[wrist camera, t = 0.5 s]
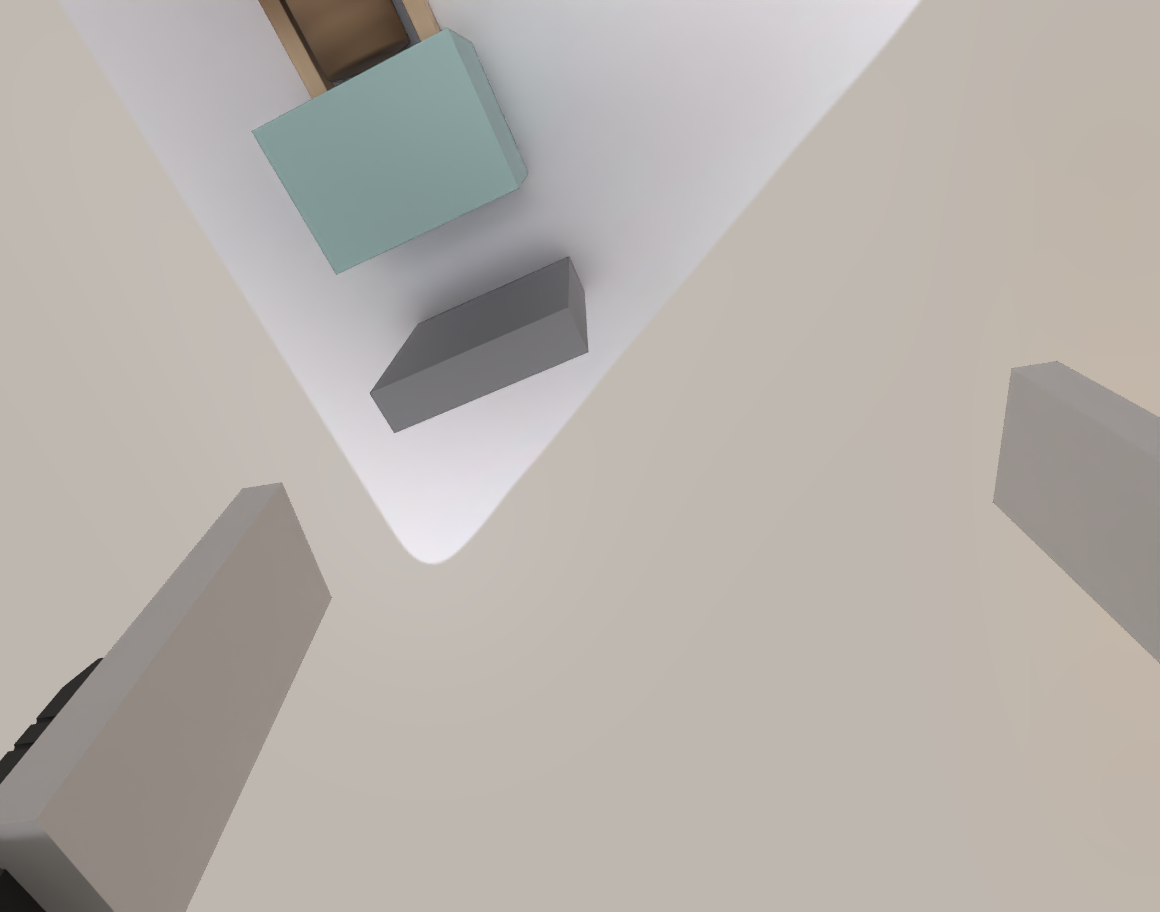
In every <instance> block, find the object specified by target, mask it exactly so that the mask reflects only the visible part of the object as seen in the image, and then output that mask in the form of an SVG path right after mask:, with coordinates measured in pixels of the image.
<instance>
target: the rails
mask: <svg viewBox="0 0 1160 912" xmlns="http://www.w3.org/2000/svg"><path fill="white" fill-rule="evenodd" d="M259 2H260V4H261V6H262V8H263V9H264V11H265V13H266V15H267V17H268V19H269V20H270V22H271V24H272V26H273V28H274V30H275V31H276V33H277V35H278V37H279V39H280V41H281V42H282V44H283V46H284V48H285V50H286V52H287V53H288V55H289V57H290V59H291V61H292V63H293V65H294V66H295V68H296V70H297V72H298V74H299V76H300V77H301V79H302V81H303V83H304V85H305V87H306V88H307V90H308V92H309V94H310V96H311V98H312V99H314V98H315V97H317V96H319V95H321V94H323V93H325V92H327V91H329V90H331V89H332V88H334V87H335V86H334V84H333V82H332V81H328V80H327V78H326V76H325V74H324V72H323V70H322V69H321V67H320V65H319V63H318V61H317V59H316V57H315V55H314V53H313V52H312V50H311V48H310V46H309V44H308V42H307V40H306V38H305V36H304V35H303V33H302V31H301V29H300V27H299V25H298V23H297V21H296V19H295V18H294V16H293V14H292V12H291V10H290V8H289V6H288V4H287V2H286V1H285V0H259ZM402 2H403V4H404V6H405V8H406V10H407V12H408V15H409V17H410V19H411V21H412V23H413V25H414V27H415V30H416V32H417V34H418V36H419V38H420V40H421V41H423V40H425V39H427V38H429V37H431V36H433V35H435V34H437V33H438V32H440V28H439V26H438V24H437V22H436V20H435V17H434V15H433V13H432V11H431V8H430V6H429V4H428V2H427V0H402Z"/></svg>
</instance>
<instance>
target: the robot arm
mask: <svg viewBox="0 0 1160 912" xmlns="http://www.w3.org/2000/svg"><path fill="white" fill-rule="evenodd" d="M993 503H994V504H995V505H996V506H997V507H999V508H1000V509H1001V510H1002V511H1003V512H1004V513H1005V514H1006V515H1007V516H1008V517H1009V518H1010V519H1011V520H1012V521H1013V522H1014V523H1015V524H1016V525H1017V526H1018V527H1019V528H1020V529H1021V530H1022V531H1023V532H1024V533H1026V535H1027V536H1029V537H1030V538H1031V539H1032V540H1033V541H1034V542H1035V543H1036V544H1037V545H1038V546H1039V547H1040V548H1041V549H1042V550H1043V551H1044V552H1045V553H1046V554H1047V555H1048V556H1049V557H1050V558H1051V559H1052V560H1053V561H1055V562H1056V564H1058V566H1060V567H1061V568H1062V569H1063V570H1064V571H1065V572H1066V573H1067V574H1068V575H1069V576H1070V577H1071V578H1072V579H1073V580H1074V581H1075V582H1076V583H1077V584H1078V585H1079V586H1080V587H1081V588H1082V589H1083V590H1084V591H1085V592H1086V593H1087V594H1089V595H1090V596H1091V597H1092V598H1093V599H1094V600H1095V601H1096V602H1097V603H1098V604H1099V605H1100V606H1101V607H1102V608H1103V609H1104V610H1105V611H1106V612H1107V613H1108V614H1109V615H1110V616H1111V617H1112V618H1113V619H1114V620H1115V621H1116V622H1117V623H1119V624H1120V625H1121V626H1122V627H1123V628H1124V629H1125V630H1126V631H1127V632H1128V633H1129V634H1130V635H1131V636H1132V637H1133V638H1134V639H1135V640H1136V641H1137V642H1138V643H1139V644H1140V645H1141V646H1142V647H1143V648H1144V649H1145V650H1147V651H1148V652H1149V653H1150V654H1151V655H1152V656H1153V657H1154V658H1155V659H1156V660H1157V661H1158V662H1159V663H1160V417H1158V416H1156V415H1154V414H1152V413H1151V412H1149V411H1147V410H1145V409H1144V408H1142V407H1140V406H1138V405H1136V404H1134V403H1133V402H1131V401H1129V400H1127V399H1125V398H1124V397H1122V396H1120V395H1118V394H1116V393H1114V392H1113V391H1111V390H1109V389H1107V388H1105V387H1104V386H1102V385H1100V384H1098V383H1096V382H1095V381H1093V380H1091V379H1089V378H1087V377H1085V376H1084V375H1082V374H1080V373H1078V372H1076V371H1075V370H1073V369H1070V368H1069V367H1067V366H1065V365H1064V364H1062V363H1060V362H1058V361H1054V362H1048V363H1042V364H1035V365H1029V366H1023V367H1017V368H1012V369H1011V377H1010V384H1009V391H1008V398H1007V405H1006V412H1005V419H1004V427H1003V434H1002V441H1001V448H1000V455H999V463H998V470H997V477H996V485H995V492H994V499H993ZM331 598H332V597H331V595H330V593H329V590H328V588H327V585H326V583H325V581H324V579H323V576H322V574H321V572H320V569H319V567H318V565H317V562H316V560H315V558H314V555H313V553H312V551H311V548H310V546H309V544H308V541H307V539H306V537H305V535H304V532H303V530H302V528H301V525H300V523H299V521H298V518H297V516H296V514H295V511H294V509H293V507H292V504H291V502H290V500H289V497H288V495H287V493H286V490H285V488H284V486H283V484H282V483H275V484H269V485H262V486H256V487H250V488H244V489H242V490H241V491H240V492H239V494H238V495H237V496H236V497H235V498H234V500H233V501H232V502H231V503H230V504H229V506H228V507H227V508H226V509H225V511H224V512H223V513H222V514H221V516H220V517H219V518H218V519H217V520H216V522H215V523H214V524H213V525H212V527H211V528H210V529H209V530H208V531H207V533H206V534H205V535H204V536H203V537H202V539H201V540H200V541H199V542H198V543H197V545H196V546H195V547H194V549H193V550H192V551H191V552H190V553H189V554H188V556H187V557H186V558H185V560H184V561H183V562H182V563H181V564H180V566H179V567H178V568H177V569H176V570H175V572H174V573H173V574H172V575H171V576H170V578H169V579H168V580H167V582H166V583H165V584H164V585H163V586H162V588H161V589H160V590H159V591H158V593H157V594H156V595H155V596H154V597H153V598H152V600H151V601H150V602H149V603H148V605H147V606H146V607H145V608H144V609H143V611H142V612H141V613H140V614H139V616H138V617H137V618H136V619H135V620H134V622H133V623H132V624H131V625H130V627H129V628H128V629H127V630H126V631H125V633H124V634H123V635H122V636H121V638H120V639H119V640H118V641H117V643H116V644H115V645H114V646H113V647H112V649H111V650H110V651H109V652H108V653H107V655H106V656H105V657H104V658H100V659H97V660H96V661H95V662H94V663H92V664H91V665H90V666H89V667H87V668H86V669H85V670H84V671H82V672H81V673H80V674H79V675H77V676H76V677H75V678H74V679H72V680H71V681H70V682H69V683H68V684H66V685H65V686H64V687H63V688H62V689H61V690H60V691H59V692H58V693H57V695H56V696H55V697H54V698H53V699H52V701H51V702H50V703H49V704H48V705H47V706H46V708H45V709H44V710H43V711H42V712H41V713H40V715H39V716H38V717H37V723H36V724H33V725H30V726H29V728H28V729H27V730H26V731H25V732H24V734H23V735H22V736H21V737H20V738H19V740H18V741H17V742H16V743H15V744H14V746H15V748H14V751H9V752H7V754H6V755H5V756H4V757H3V758H2V760H1V761H0V912H186V910H187V908H188V905H189V903H190V901H191V899H192V896H193V895H194V892H195V890H196V888H197V886H198V884H199V882H200V880H201V877H202V875H203V873H204V871H205V869H206V867H207V865H208V862H209V860H210V858H211V856H212V854H213V852H214V850H215V847H216V845H217V843H218V841H219V839H220V837H221V835H222V832H223V830H224V828H225V826H226V824H227V822H228V820H229V817H230V815H231V813H232V811H233V809H234V807H235V805H236V802H237V800H238V798H239V796H240V794H241V791H242V789H243V787H244V785H245V783H246V781H247V779H248V776H249V774H250V772H251V770H252V768H253V766H254V764H255V762H256V759H257V757H258V755H259V753H260V751H261V749H262V747H263V744H264V742H265V740H266V738H267V736H268V734H269V731H270V729H271V727H272V725H273V723H274V721H275V719H276V717H277V714H278V712H279V710H280V708H281V706H282V704H283V701H284V699H285V697H286V695H287V693H288V690H289V689H290V686H291V684H292V682H293V680H294V678H295V676H296V673H297V671H298V669H299V667H300V665H301V663H302V661H303V659H304V656H305V654H306V652H307V650H308V648H309V646H310V643H311V641H312V639H313V637H314V635H315V633H316V631H317V628H318V626H319V624H320V622H321V620H322V618H323V616H324V614H325V611H326V609H327V607H328V605H329V603H330V600H331Z"/></svg>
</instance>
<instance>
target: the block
mask: <svg viewBox="0 0 1160 912" xmlns="http://www.w3.org/2000/svg"><path fill="white" fill-rule="evenodd" d="M252 133H253V135H254V136H255V138H256V140H257V142H258V143H259V145H260V147H261V148H262V150H263V152H264V153H265V155H266V157H267V158H268V160H269V162H270V163H271V165H272V167H273V169H274V170H275V172H276V174H277V175H278V177H279V179H280V180H281V182H282V184H283V185H284V187H285V189H286V190H287V192H288V194H289V196H290V197H291V199H292V201H293V202H294V204H295V206H296V207H297V209H298V211H299V212H300V214H301V216H302V217H303V219H304V221H305V223H306V224H307V226H308V228H309V229H310V231H311V233H312V234H313V236H314V238H315V239H316V241H317V243H318V244H319V246H320V248H321V250H322V251H323V253H324V255H325V256H326V258H327V260H328V261H329V263H330V265H331V266H332V268H333V270H334V271H335V273H336V275H337V274H339V273H341V272H343V271H345V270H347V269H349V268H351V267H353V266H356V265H358V264H360V263H362V262H364V261H366V260H368V259H370V258H373V257H375V256H377V255H379V254H381V253H383V252H385V251H387V250H389V249H392V248H394V247H396V246H398V245H400V244H402V243H404V242H406V241H408V240H411V239H413V238H415V237H417V236H419V235H421V234H423V233H425V232H428V231H430V230H432V229H434V228H436V227H438V226H440V225H442V224H444V223H447V222H449V221H451V220H453V219H455V218H457V217H459V216H461V215H464V214H466V213H468V212H470V211H472V210H474V209H476V208H478V207H480V206H483V205H485V204H487V203H489V202H491V201H493V200H495V199H497V198H499V197H502V196H504V195H506V194H508V193H510V192H512V191H514V190H516V189H519V187H520V186H521V184H522V183H523V181H524V179H525V178H526V176H527V175H528V171H527V169H526V167H525V164H524V162H523V160H522V158H521V155H520V153H519V151H518V148H517V146H516V144H515V141H514V139H513V137H512V135H511V132H510V130H509V128H508V125H507V123H506V121H505V118H504V116H503V114H502V112H501V109H500V107H499V105H498V102H497V100H496V98H495V95H494V93H493V91H492V89H491V86H490V84H489V82H488V79H487V77H486V75H485V72H484V70H483V68H482V66H481V63H480V61H479V59H478V56H477V54H476V52H475V49H474V47H473V45H472V43H471V42H470V41H468V40H467V39H465V38H463V37H462V36H460V35H459V34H457V33H455V32H454V31H452V30H450V29H449V28H446V29H444V30H442V31H440V32H438V33H437V34H435V35H433V36H431V37H429V38H427V39H425V40H423V41H421V42H420V43H418V44H416V45H414V46H412V47H410V48H408V49H406V50H404V51H402V52H401V53H399V54H397V55H395V56H393V57H391V58H389V59H387V60H385V61H384V62H382V63H380V64H378V65H376V66H374V67H372V68H370V69H368V70H367V71H365V72H363V73H361V74H359V75H357V76H355V77H353V78H351V79H350V80H348V81H346V82H344V83H342V84H340V85H338V86H336V87H334V88H332V89H331V90H329V91H327V92H325V93H323V94H321V95H319V96H317V97H315V98H314V99H312V100H310V101H308V102H306V103H304V104H302V105H300V106H298V107H297V108H295V109H293V110H291V111H289V112H287V113H285V114H283V115H281V116H279V117H278V118H276V119H274V120H272V121H270V122H268V123H266V124H264V125H262V126H261V127H259V128H257V129H255V130H253V131H252Z"/></svg>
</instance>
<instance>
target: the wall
mask: <svg viewBox="0 0 1160 912" xmlns="http://www.w3.org/2000/svg"><path fill="white" fill-rule="evenodd" d="M587 352H588V339H587V324H586V308H585V293H584V289H583V287H582V285H581V282H580V280H579V278H578V276H577V273H576V271H575V269H574V266H573V264H572V262H571V259H570V257H567V258H565V259H562V260H560V261H558V262H556V263H553V264H551V265H549V266H547V267H545V268H542V269H540V270H538V271H536V272H533V273H531V274H529V275H527V276H524V277H522V278H520V279H518V280H515V281H513V282H511V283H509V284H507V285H504V286H502V287H500V288H498V289H495V290H493V291H491V292H489V293H486V294H484V295H482V296H480V297H477V298H475V299H473V300H471V301H468V302H466V303H464V304H462V305H460V306H457V307H455V308H453V309H451V310H448V311H446V312H444V313H442V314H439V315H437V316H435V317H433V318H430V319H428V320H426V321H424V322H422V323H419V324H418V325H417V326H416V328H415V329H414V330H413V332H412V333H411V335H410V336H409V338H408V339H407V340H406V342H405V343H404V345H403V346H402V348H401V349H400V351H399V352H398V353H397V355H396V356H395V358H394V359H393V361H392V362H391V363H390V365H389V366H388V368H387V369H386V371H385V372H384V373H383V375H382V376H381V378H380V379H379V381H378V382H377V383H376V385H375V386H374V388H373V389H372V391H371V392H370V395H371V396H372V398H373V399H374V401H375V403H376V404H377V406H378V408H379V409H380V411H381V412H382V414H383V416H384V417H385V419H386V420H387V422H388V424H389V425H390V427H391V429H392V430H393V432H394V433H396V432H398V431H401V430H403V429H406V428H408V427H410V426H413V425H415V424H418V423H420V422H422V421H425V420H427V419H429V418H432V417H434V416H437V415H439V414H441V413H444V412H446V411H449V410H451V409H453V408H456V407H458V406H461V405H463V404H465V403H468V402H470V401H473V400H475V399H477V398H480V397H482V396H484V395H487V394H489V393H492V392H494V391H496V390H499V389H501V388H504V387H506V386H508V385H511V384H513V383H516V382H518V381H520V380H523V379H525V378H528V377H530V376H532V375H535V374H537V373H539V372H542V371H544V370H547V369H549V368H551V367H554V366H556V365H559V364H561V363H563V362H566V361H568V360H571V359H573V358H575V357H578V356H580V355H583V354H585V353H587Z"/></svg>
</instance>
